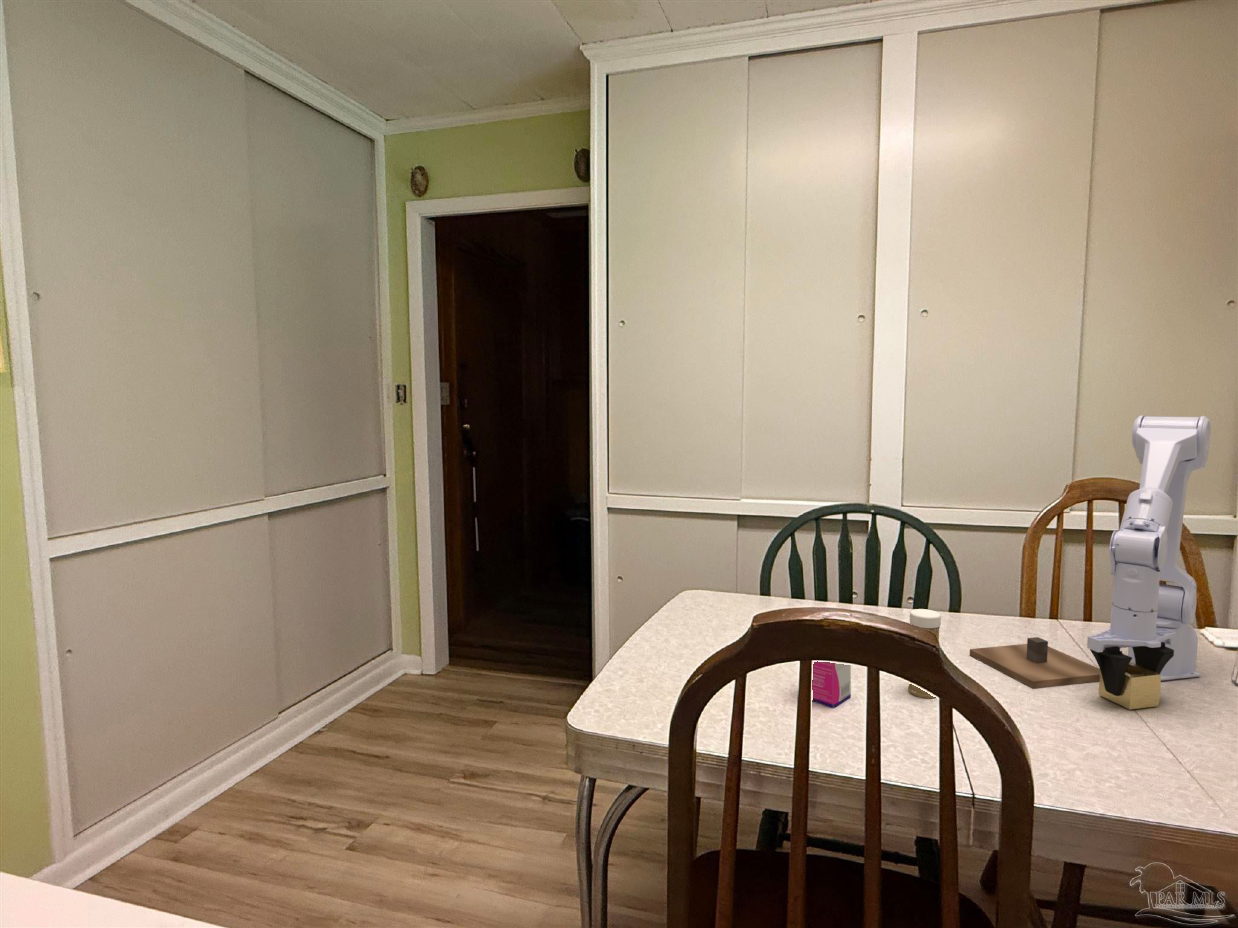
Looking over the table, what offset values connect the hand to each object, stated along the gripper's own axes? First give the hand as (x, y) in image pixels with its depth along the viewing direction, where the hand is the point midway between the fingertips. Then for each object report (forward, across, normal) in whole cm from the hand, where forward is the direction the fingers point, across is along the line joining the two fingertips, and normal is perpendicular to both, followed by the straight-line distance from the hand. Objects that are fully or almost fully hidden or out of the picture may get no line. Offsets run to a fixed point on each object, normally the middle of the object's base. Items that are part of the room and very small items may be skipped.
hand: (1128, 691), depth 109 cm
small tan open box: (+1, 0, 0) cm, 1 cm away
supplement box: (+2, -45, +12) cm, 47 cm away
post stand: (+2, -3, +15) cm, 15 cm away
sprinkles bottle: (+2, -29, +10) cm, 31 cm away
